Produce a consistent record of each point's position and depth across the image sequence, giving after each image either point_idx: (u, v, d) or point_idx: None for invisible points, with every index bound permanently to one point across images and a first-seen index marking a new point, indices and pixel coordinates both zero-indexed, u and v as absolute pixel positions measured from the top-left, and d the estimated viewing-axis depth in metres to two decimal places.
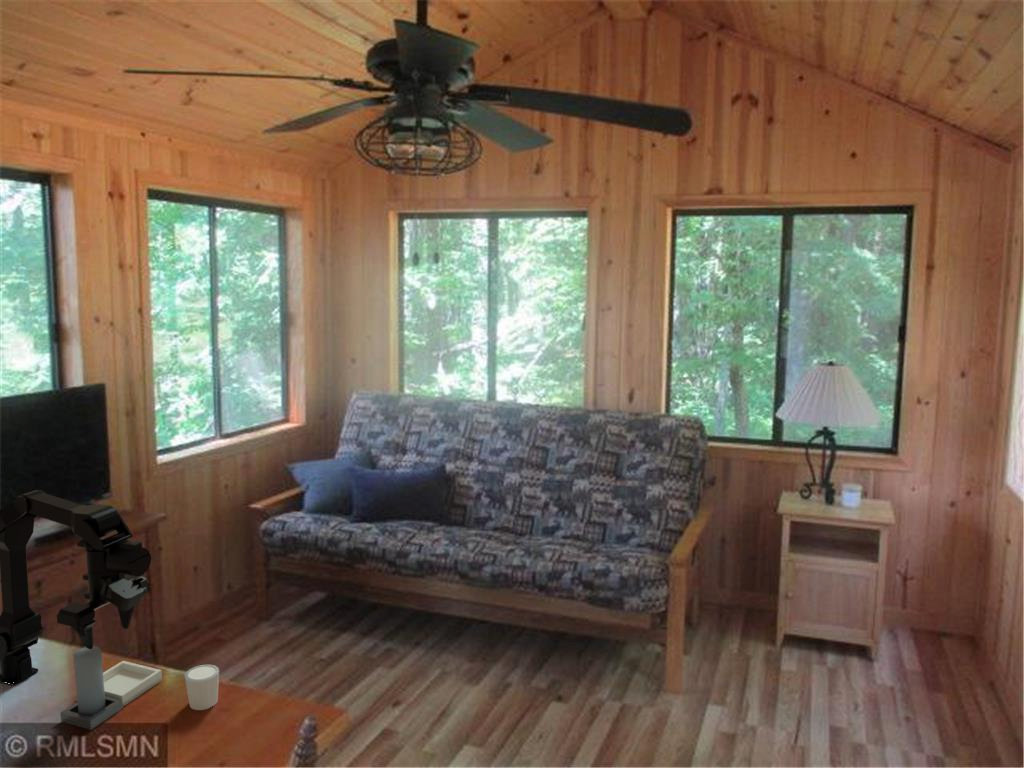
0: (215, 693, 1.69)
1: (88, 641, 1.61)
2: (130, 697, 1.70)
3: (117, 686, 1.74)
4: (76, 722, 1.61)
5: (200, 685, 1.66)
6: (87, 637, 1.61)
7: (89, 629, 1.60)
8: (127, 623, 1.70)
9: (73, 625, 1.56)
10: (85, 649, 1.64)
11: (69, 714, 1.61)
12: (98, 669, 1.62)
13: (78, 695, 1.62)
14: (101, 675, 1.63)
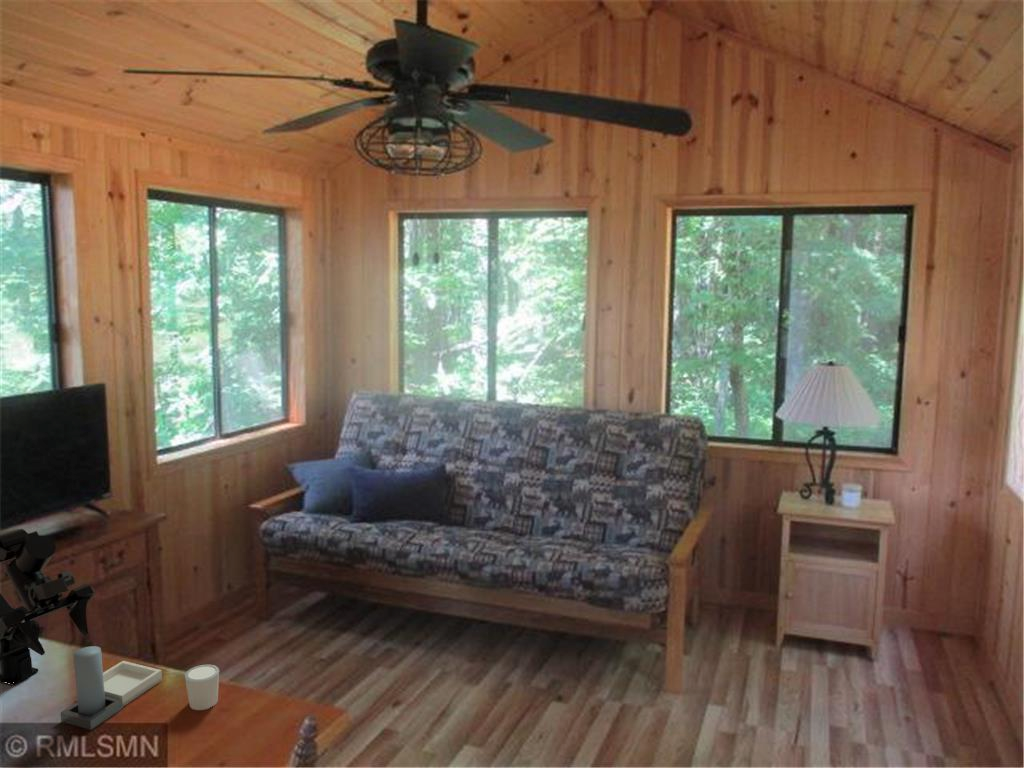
0: (215, 693, 1.69)
1: (35, 645, 1.62)
2: (130, 697, 1.70)
3: (117, 686, 1.74)
4: (76, 722, 1.61)
5: (200, 685, 1.66)
6: (32, 641, 1.62)
7: (29, 632, 1.62)
8: (84, 628, 1.70)
9: (4, 628, 1.59)
10: (85, 649, 1.64)
11: (69, 714, 1.61)
12: (98, 669, 1.62)
13: (78, 695, 1.62)
14: (101, 675, 1.63)
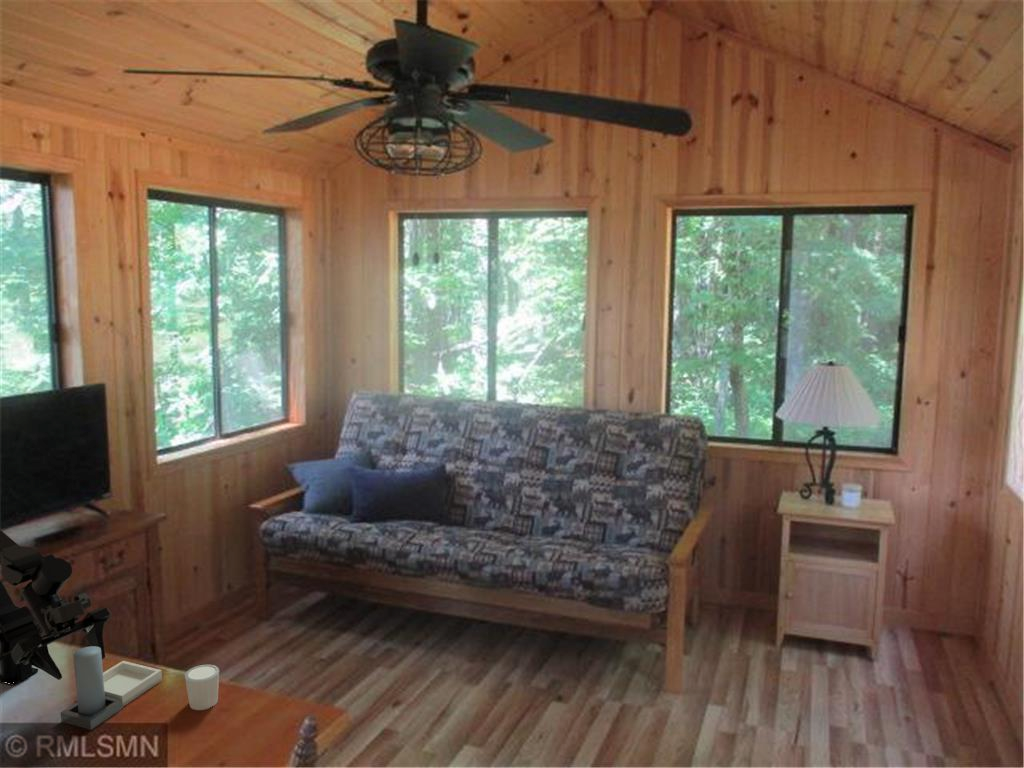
0: (215, 693, 1.69)
1: (53, 670, 1.60)
2: (130, 697, 1.70)
3: (117, 686, 1.74)
4: (76, 722, 1.61)
5: (200, 685, 1.66)
6: (49, 665, 1.59)
7: (46, 656, 1.60)
8: (101, 651, 1.68)
9: (21, 652, 1.57)
10: (85, 649, 1.64)
11: (69, 714, 1.61)
12: (98, 669, 1.62)
13: (78, 695, 1.62)
14: (101, 675, 1.63)
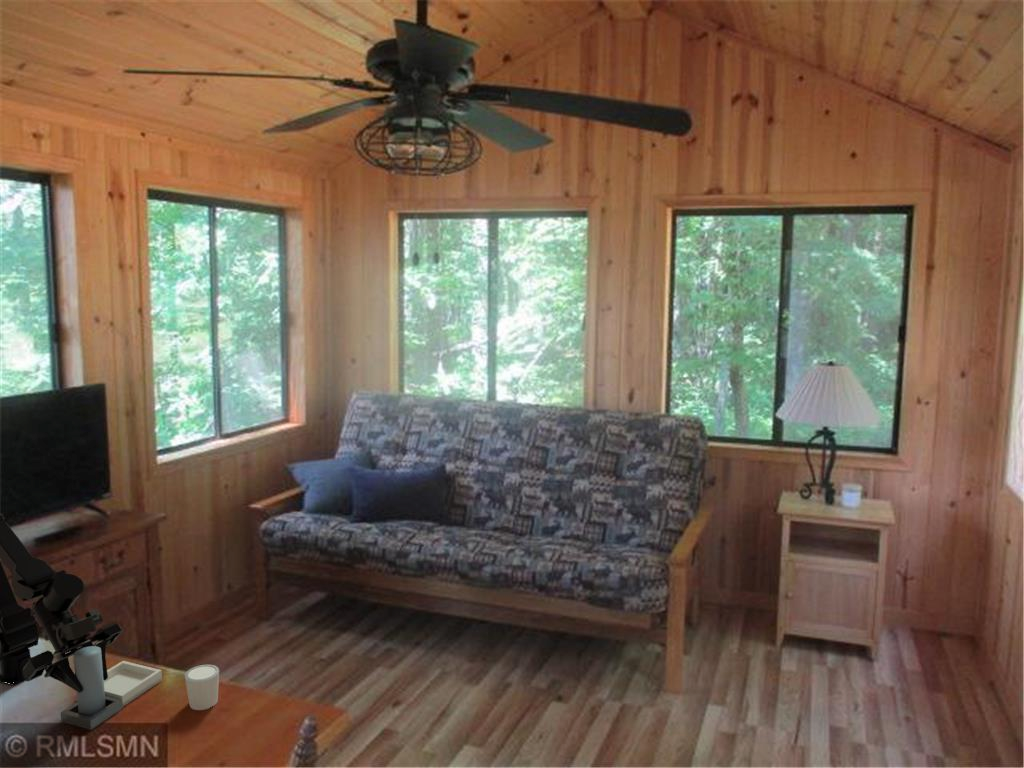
0: (215, 693, 1.69)
1: (73, 683, 1.60)
2: (130, 697, 1.70)
3: (117, 686, 1.74)
4: (76, 722, 1.61)
5: (200, 685, 1.66)
6: (70, 678, 1.60)
7: (67, 669, 1.60)
8: (104, 672, 1.65)
9: (33, 670, 1.56)
10: (85, 649, 1.64)
11: (69, 714, 1.61)
12: (99, 669, 1.62)
13: (78, 695, 1.62)
14: (101, 675, 1.63)
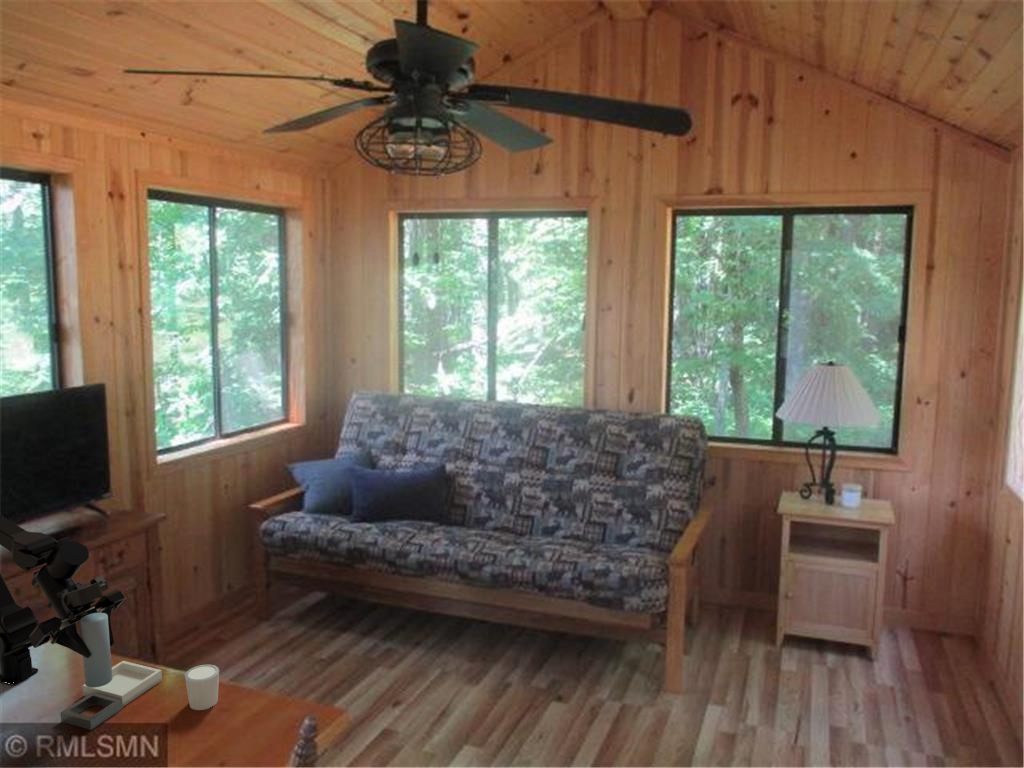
0: (215, 693, 1.69)
1: (81, 648, 1.61)
2: (130, 697, 1.70)
3: (117, 686, 1.74)
4: (76, 722, 1.61)
5: (200, 685, 1.66)
6: (78, 644, 1.61)
7: (75, 635, 1.61)
8: (110, 638, 1.66)
9: (41, 636, 1.56)
10: (91, 615, 1.65)
11: (69, 714, 1.61)
12: (106, 634, 1.64)
13: (85, 661, 1.63)
14: (108, 641, 1.64)
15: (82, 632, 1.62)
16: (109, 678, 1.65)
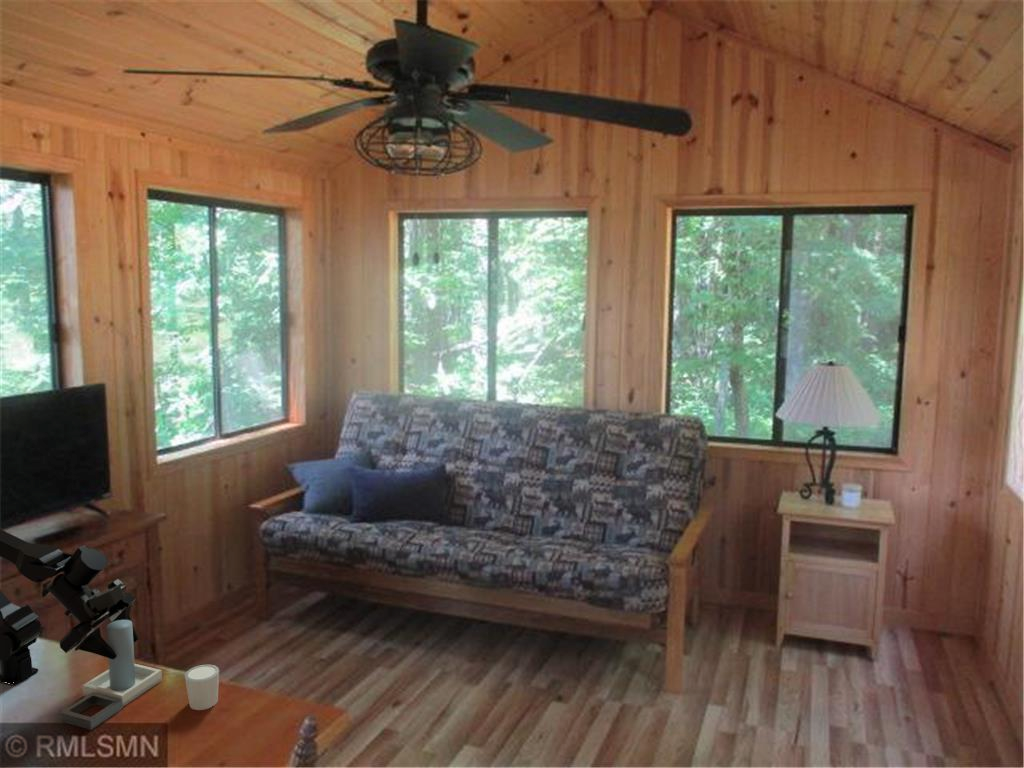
0: (215, 693, 1.69)
1: (107, 650, 1.68)
2: (130, 697, 1.70)
3: None
4: (76, 722, 1.61)
5: (200, 685, 1.66)
6: (103, 647, 1.68)
7: (100, 639, 1.68)
8: (134, 634, 1.76)
9: (76, 639, 1.63)
10: (114, 623, 1.73)
11: (69, 714, 1.61)
12: (132, 639, 1.73)
13: (113, 666, 1.71)
14: (133, 645, 1.74)
15: (110, 639, 1.70)
16: (134, 680, 1.75)
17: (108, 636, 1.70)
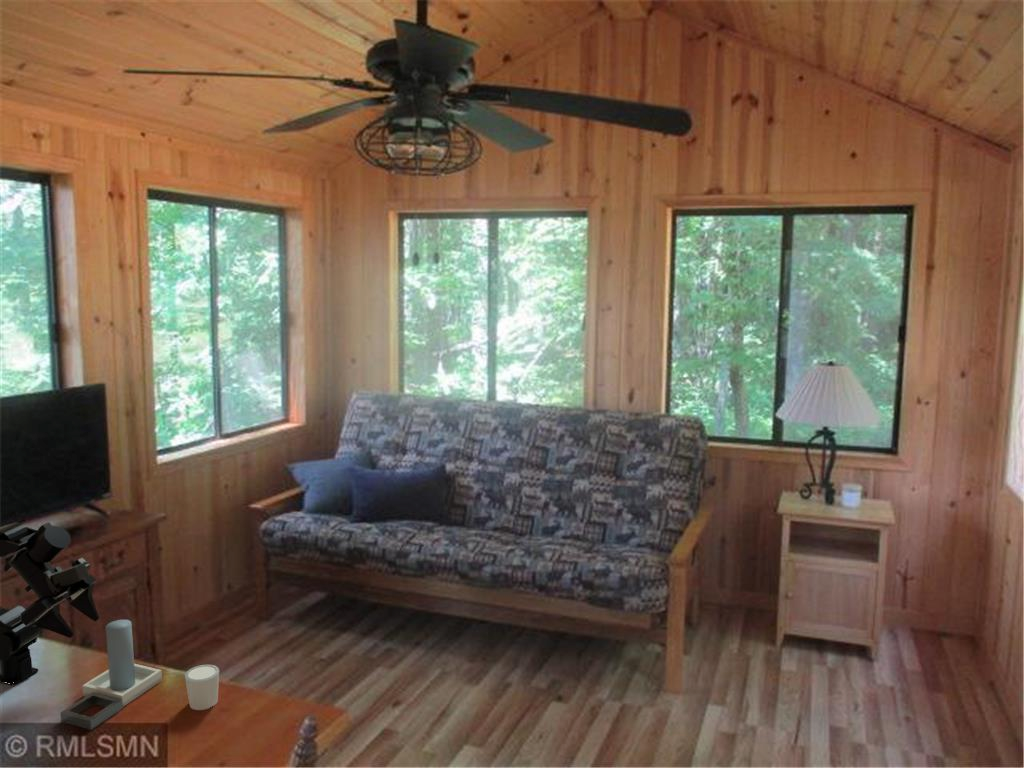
0: (215, 693, 1.69)
1: (65, 628, 1.68)
2: (130, 697, 1.70)
3: None
4: (76, 722, 1.61)
5: (200, 685, 1.66)
6: (62, 624, 1.67)
7: (58, 616, 1.67)
8: (95, 613, 1.78)
9: (39, 612, 1.64)
10: (113, 623, 1.73)
11: (69, 714, 1.61)
12: (131, 639, 1.73)
13: (113, 666, 1.71)
14: (132, 645, 1.74)
15: (109, 639, 1.70)
16: (134, 680, 1.75)
17: (107, 636, 1.70)
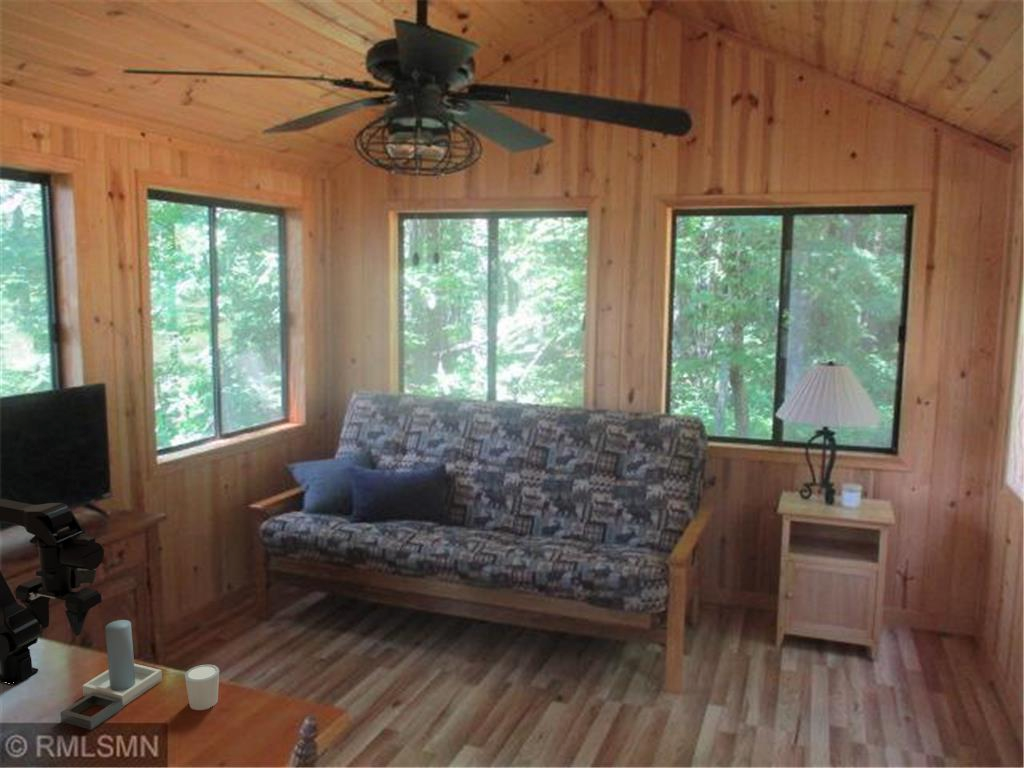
0: (215, 693, 1.69)
1: (82, 625, 1.71)
2: (130, 697, 1.70)
3: None
4: (76, 722, 1.61)
5: (200, 685, 1.66)
6: (83, 620, 1.71)
7: None
8: (48, 620, 1.75)
9: (98, 602, 1.70)
10: (112, 623, 1.73)
11: (69, 714, 1.61)
12: (131, 639, 1.73)
13: (113, 666, 1.71)
14: (132, 645, 1.74)
15: (109, 639, 1.70)
16: (134, 680, 1.75)
17: (107, 636, 1.70)
